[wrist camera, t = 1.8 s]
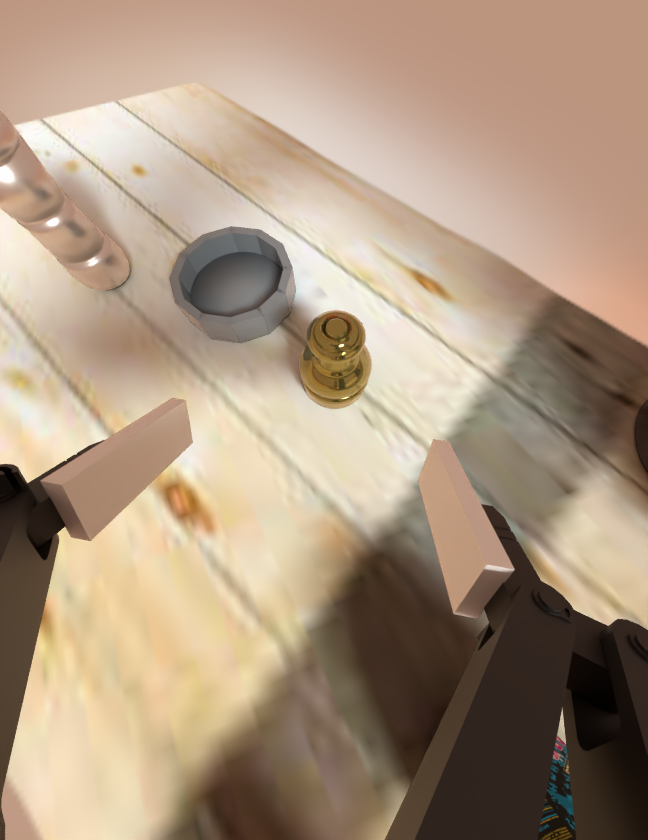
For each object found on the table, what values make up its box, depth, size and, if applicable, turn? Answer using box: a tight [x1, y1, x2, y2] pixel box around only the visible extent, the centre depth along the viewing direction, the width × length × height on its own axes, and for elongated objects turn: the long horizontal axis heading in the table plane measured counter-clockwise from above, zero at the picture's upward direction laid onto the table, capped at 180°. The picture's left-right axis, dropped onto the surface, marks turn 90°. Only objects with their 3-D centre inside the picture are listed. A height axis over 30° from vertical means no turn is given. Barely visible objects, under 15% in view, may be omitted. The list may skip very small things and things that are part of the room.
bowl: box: [170, 227, 296, 343], centre depth 33 cm, size 14×14×4 cm
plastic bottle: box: [0, 111, 130, 290], centre depth 26 cm, size 6×7×20 cm
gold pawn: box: [299, 310, 372, 409], centre depth 26 cm, size 7×7×10 cm
